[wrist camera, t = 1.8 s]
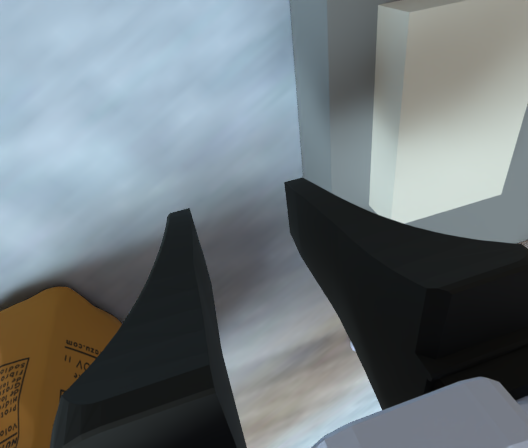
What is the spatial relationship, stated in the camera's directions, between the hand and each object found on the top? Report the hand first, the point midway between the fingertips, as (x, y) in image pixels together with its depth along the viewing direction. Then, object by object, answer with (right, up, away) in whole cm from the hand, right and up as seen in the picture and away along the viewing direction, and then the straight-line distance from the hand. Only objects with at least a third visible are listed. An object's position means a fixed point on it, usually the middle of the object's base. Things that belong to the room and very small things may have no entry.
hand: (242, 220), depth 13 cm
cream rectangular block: (+8, +5, +5) cm, 11 cm away
